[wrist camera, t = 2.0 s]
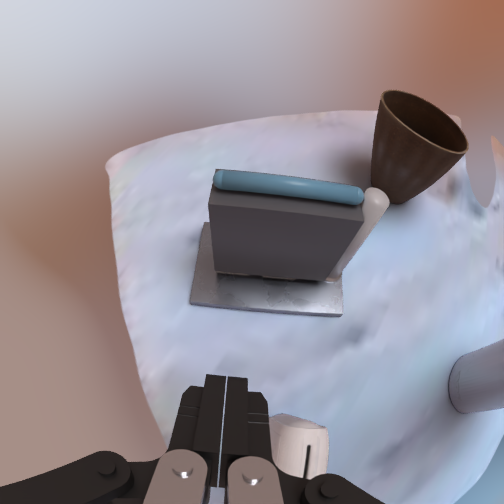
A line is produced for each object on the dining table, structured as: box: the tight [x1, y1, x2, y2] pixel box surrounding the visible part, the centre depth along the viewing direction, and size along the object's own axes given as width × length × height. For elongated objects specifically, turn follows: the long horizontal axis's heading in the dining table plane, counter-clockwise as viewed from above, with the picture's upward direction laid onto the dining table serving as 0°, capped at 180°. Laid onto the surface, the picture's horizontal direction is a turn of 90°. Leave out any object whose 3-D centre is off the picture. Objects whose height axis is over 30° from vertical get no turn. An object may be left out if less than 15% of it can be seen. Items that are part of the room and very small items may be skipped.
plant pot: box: [371, 90, 468, 204], centre depth 38 cm, size 15×15×16 cm
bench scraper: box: [208, 169, 389, 281], centre depth 28 cm, size 15×4×14 cm, turn 86°
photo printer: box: [269, 414, 329, 480], centre depth 19 cm, size 10×4×12 cm, turn 171°
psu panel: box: [190, 222, 344, 317], centre depth 35 cm, size 18×11×2 cm, turn 86°
